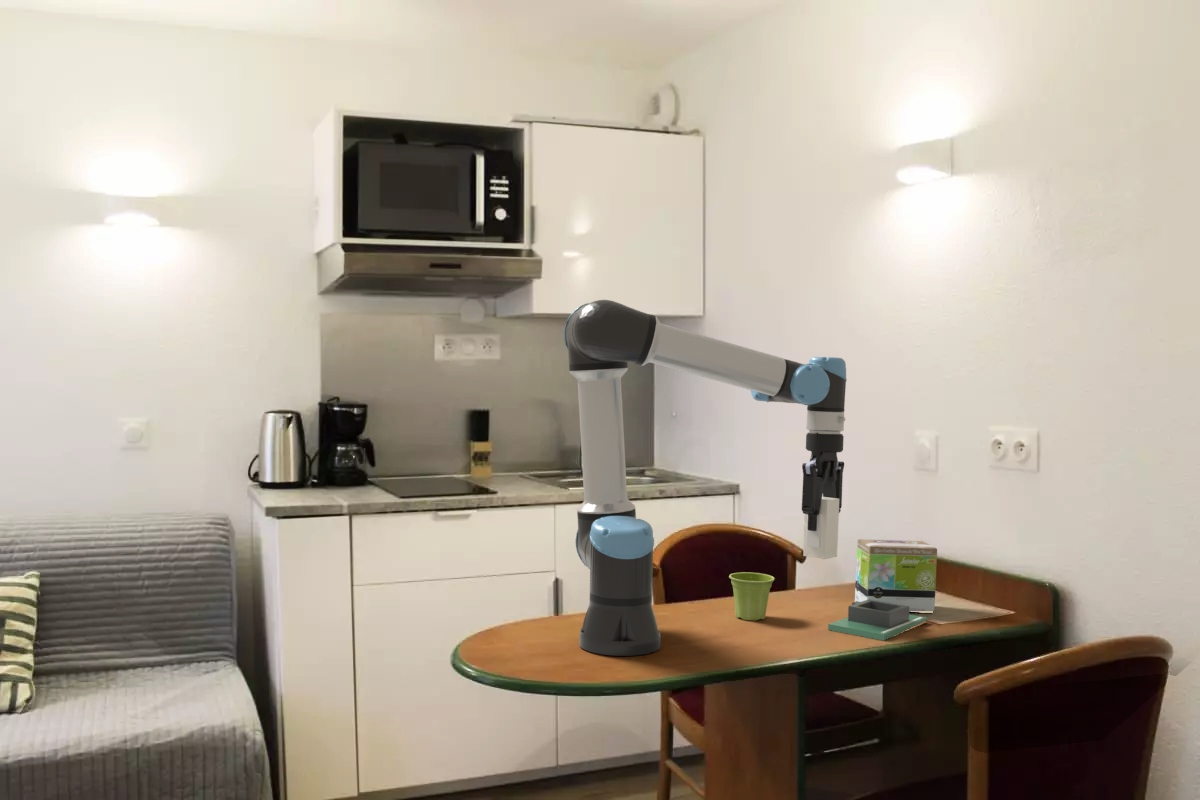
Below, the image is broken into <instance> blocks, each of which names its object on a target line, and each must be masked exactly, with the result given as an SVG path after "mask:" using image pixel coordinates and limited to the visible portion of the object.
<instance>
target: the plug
mask: <svg viewBox="0 0 1200 800" xmlns="http://www.w3.org/2000/svg"><path fill="white" fill-rule="evenodd" d="M819 515H822V519H821V544H820V547H819V548H817V547H811V546H807V528H808V514H804V529H803V531H804V532H803V555H802V556H803V557H808V558H814V559H819V560H820V559H821V560H827V559H832V558H837V557H838V541H839V540H838V539H839V538H838V537H839V519H840V518H839V516H840V513H839V499H838V498H830V497H823V496H822V500H821V506H820V512H819Z"/></svg>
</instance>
